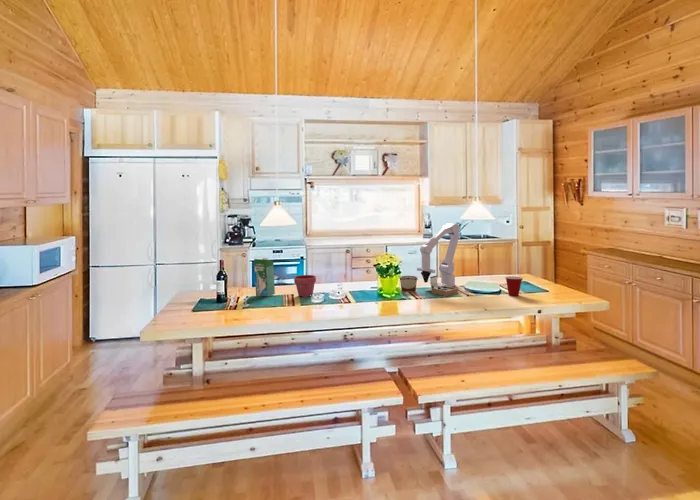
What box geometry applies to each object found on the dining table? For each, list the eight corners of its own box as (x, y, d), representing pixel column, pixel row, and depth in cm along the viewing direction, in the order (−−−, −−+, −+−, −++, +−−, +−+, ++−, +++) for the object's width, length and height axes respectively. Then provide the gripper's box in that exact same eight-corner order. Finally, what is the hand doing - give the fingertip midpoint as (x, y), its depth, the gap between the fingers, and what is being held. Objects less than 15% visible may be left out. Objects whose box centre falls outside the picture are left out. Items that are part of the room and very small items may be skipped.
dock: (433, 289, 330) (433, 283, 330) (457, 293, 315) (457, 288, 314) (421, 291, 323) (421, 286, 322) (446, 296, 307) (446, 291, 307)
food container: (417, 290, 326) (417, 275, 325) (417, 292, 320) (417, 277, 319) (399, 290, 327) (399, 275, 326) (399, 292, 321) (399, 277, 320)
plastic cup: (522, 293, 308) (523, 275, 306) (522, 297, 298) (523, 278, 296) (504, 293, 312) (505, 274, 310) (504, 296, 301) (504, 278, 300)
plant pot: (304, 292, 327) (303, 273, 325) (320, 294, 319) (320, 275, 317) (290, 296, 315) (289, 277, 314) (306, 299, 307) (306, 279, 305)
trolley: (436, 286, 325) (436, 275, 324) (447, 288, 318) (447, 277, 317) (429, 287, 320) (429, 276, 319) (440, 289, 313) (440, 278, 312)
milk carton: (274, 294, 324) (273, 257, 320) (267, 297, 316) (265, 259, 312) (263, 293, 327) (262, 256, 324) (255, 295, 319) (254, 258, 316)
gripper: (413, 262, 328) (413, 281, 330) (430, 264, 317) (430, 284, 319) (420, 260, 332) (420, 280, 334) (437, 263, 321) (437, 283, 323)
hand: (425, 282), depth 327 cm, fingers closed
